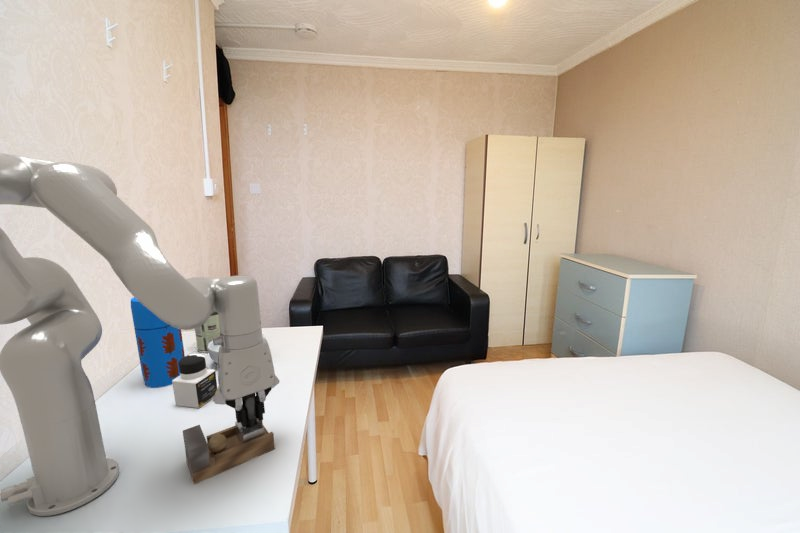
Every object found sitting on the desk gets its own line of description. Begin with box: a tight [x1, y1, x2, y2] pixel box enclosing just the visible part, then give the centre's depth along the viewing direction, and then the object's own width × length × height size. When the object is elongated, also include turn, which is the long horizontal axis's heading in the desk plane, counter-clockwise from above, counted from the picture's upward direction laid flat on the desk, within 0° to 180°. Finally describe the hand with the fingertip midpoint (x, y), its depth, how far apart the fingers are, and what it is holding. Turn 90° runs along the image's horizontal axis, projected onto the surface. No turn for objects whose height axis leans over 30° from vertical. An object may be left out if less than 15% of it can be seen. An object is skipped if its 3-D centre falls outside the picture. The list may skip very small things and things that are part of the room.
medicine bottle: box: [171, 353, 218, 409], centre depth 94 cm, size 7×7×12 cm
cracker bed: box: [182, 419, 276, 485], centre depth 74 cm, size 15×8×7 cm, turn 128°
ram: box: [234, 393, 264, 444], centre depth 76 cm, size 4×6×10 cm
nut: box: [208, 434, 227, 453], centre depth 73 cm, size 3×3×3 cm
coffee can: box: [194, 312, 220, 354], centre depth 128 cm, size 10×10×14 cm
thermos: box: [130, 296, 185, 389], centre depth 105 cm, size 11×11×25 cm
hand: (251, 419), depth 76 cm, fingers closed on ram, 2 cm apart
